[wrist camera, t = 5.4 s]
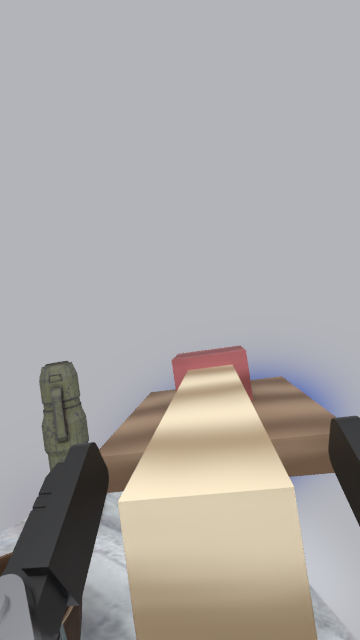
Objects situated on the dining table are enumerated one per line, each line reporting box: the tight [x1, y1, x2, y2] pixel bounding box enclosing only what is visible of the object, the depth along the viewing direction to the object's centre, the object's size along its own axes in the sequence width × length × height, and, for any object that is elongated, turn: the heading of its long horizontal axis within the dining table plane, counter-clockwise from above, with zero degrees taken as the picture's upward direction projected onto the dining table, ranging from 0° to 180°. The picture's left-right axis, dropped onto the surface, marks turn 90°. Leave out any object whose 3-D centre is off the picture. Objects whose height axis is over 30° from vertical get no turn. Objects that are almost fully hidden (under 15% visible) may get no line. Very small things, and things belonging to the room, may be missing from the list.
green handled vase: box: [39, 361, 89, 471], centre depth 63 cm, size 9×12×35 cm
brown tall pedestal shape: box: [99, 377, 336, 493], centre depth 23 cm, size 16×14×32 cm
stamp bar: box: [118, 346, 317, 640], centre depth 17 cm, size 23×6×4 cm, turn 174°
